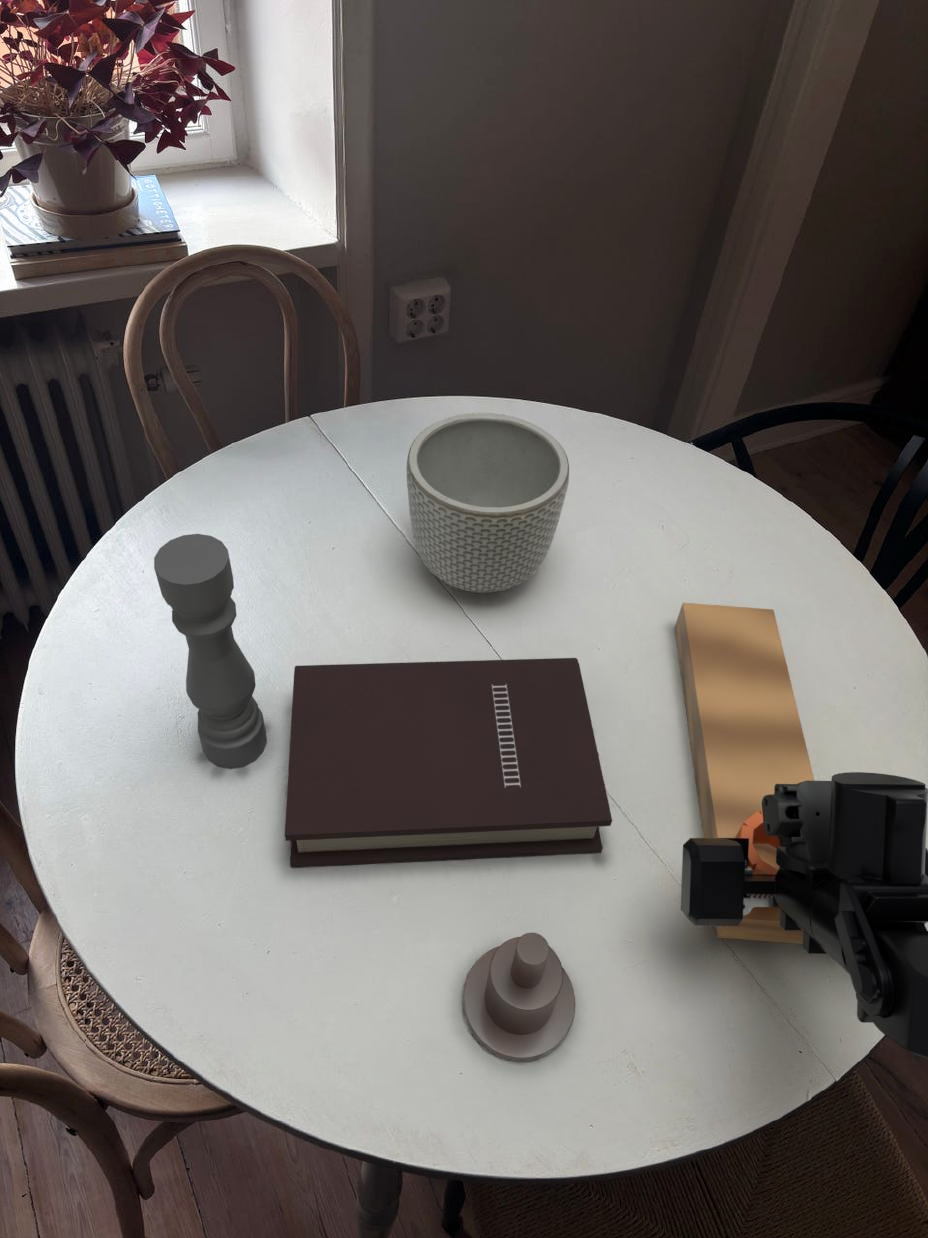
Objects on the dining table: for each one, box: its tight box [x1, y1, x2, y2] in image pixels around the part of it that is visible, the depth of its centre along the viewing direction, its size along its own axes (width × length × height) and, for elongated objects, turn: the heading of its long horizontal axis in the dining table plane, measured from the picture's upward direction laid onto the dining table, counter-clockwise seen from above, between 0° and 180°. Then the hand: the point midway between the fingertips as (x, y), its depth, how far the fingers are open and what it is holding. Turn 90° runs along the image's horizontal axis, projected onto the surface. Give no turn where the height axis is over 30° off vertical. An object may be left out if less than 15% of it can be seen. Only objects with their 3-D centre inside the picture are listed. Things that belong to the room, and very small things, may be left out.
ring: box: [735, 810, 780, 896], centre depth 75 cm, size 6×7×4 cm
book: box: [284, 657, 613, 869], centre depth 86 cm, size 28×20×6 cm
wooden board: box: [674, 602, 815, 945], centre depth 88 cm, size 36×10×4 cm, turn 177°
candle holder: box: [153, 533, 268, 770], centre depth 79 cm, size 6×6×25 cm
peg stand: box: [462, 932, 576, 1063], centre depth 69 cm, size 9×9×11 cm
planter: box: [406, 412, 570, 594], centre depth 101 cm, size 17×17×16 cm
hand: (764, 849), depth 77 cm, fingers closed on ring, 6 cm apart
